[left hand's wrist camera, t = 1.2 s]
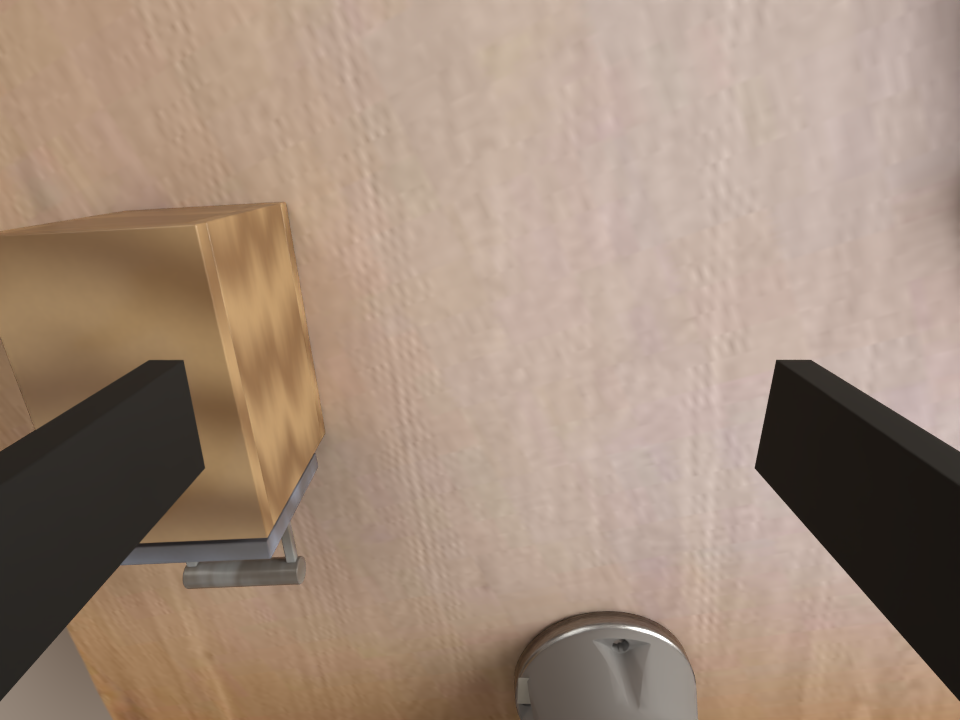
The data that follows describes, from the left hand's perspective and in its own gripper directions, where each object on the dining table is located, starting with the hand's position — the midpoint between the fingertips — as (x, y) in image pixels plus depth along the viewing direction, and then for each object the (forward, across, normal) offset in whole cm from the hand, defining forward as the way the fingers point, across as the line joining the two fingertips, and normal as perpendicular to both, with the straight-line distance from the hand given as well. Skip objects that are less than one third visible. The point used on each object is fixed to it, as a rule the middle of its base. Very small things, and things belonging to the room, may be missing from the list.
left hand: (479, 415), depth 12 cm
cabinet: (+24, -17, -6) cm, 30 cm away
